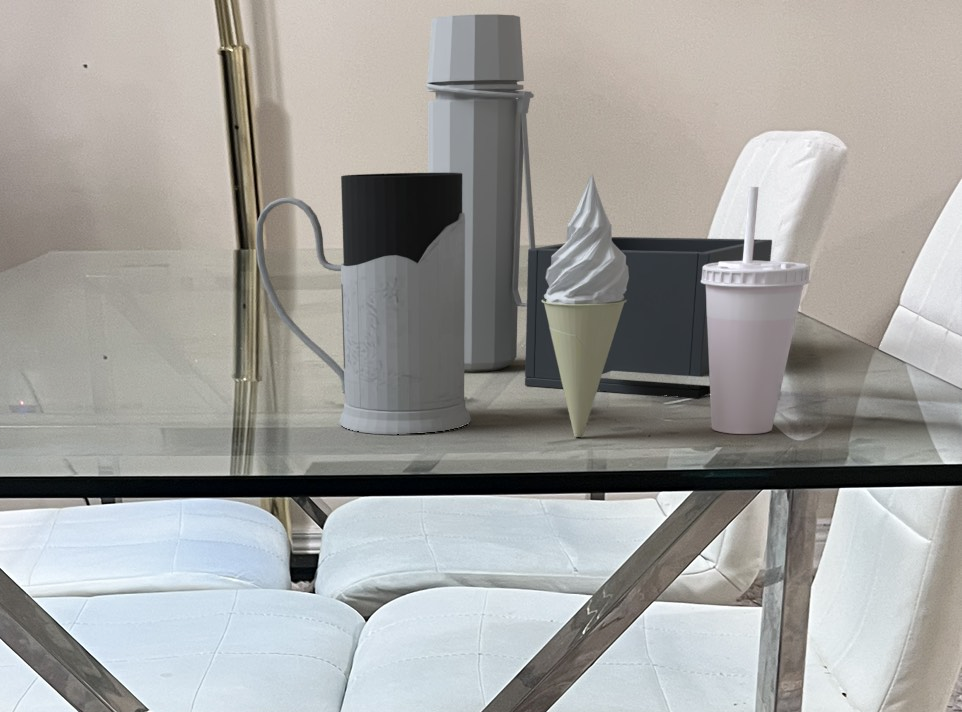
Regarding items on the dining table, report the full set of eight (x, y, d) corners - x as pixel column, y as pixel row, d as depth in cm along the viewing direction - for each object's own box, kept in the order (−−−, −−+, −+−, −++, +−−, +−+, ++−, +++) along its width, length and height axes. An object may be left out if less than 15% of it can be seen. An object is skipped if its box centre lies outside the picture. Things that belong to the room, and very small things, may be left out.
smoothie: (714, 415, 92) (732, 185, 86) (809, 424, 89) (835, 185, 83) (673, 432, 87) (689, 189, 82) (772, 442, 84) (796, 189, 78)
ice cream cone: (610, 447, 84) (624, 173, 77) (528, 442, 85) (535, 174, 79) (627, 431, 88) (641, 171, 82) (548, 427, 90) (556, 172, 83)
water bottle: (408, 369, 113) (404, 18, 103) (459, 357, 119) (461, 23, 108) (507, 378, 108) (514, 10, 98) (555, 364, 114) (567, 16, 104)
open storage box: (760, 371, 109) (772, 239, 105) (698, 398, 98) (709, 253, 94) (598, 361, 115) (604, 236, 111) (524, 385, 105) (527, 248, 101)
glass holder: (452, 436, 87) (453, 175, 81) (241, 428, 91) (226, 178, 85) (484, 412, 95) (487, 171, 89) (288, 405, 99) (277, 174, 93)
